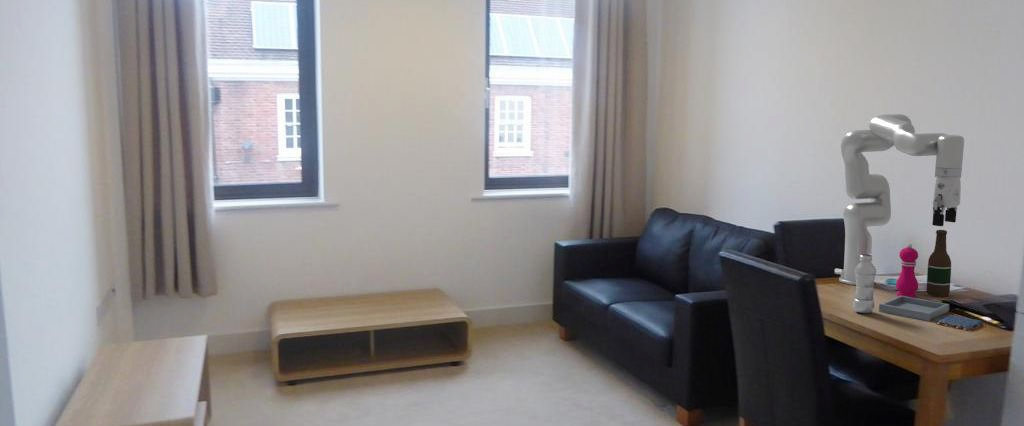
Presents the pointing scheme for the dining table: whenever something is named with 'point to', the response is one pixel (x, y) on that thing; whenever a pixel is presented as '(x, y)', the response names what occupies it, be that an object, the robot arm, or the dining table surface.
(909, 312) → the tray
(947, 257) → the beer bottle
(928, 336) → the dining table surface
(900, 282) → the pepper mill
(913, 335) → the dining table surface
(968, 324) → the woven mat
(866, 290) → the plastic bottle
